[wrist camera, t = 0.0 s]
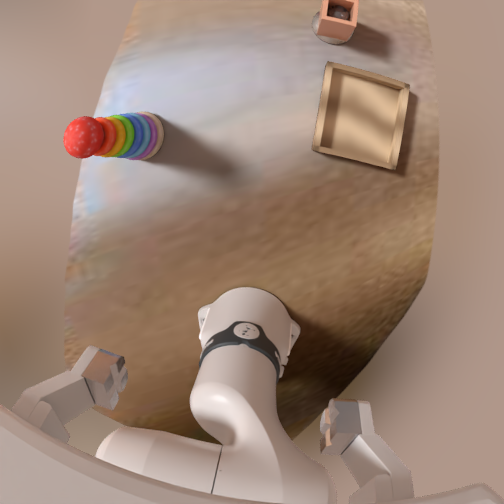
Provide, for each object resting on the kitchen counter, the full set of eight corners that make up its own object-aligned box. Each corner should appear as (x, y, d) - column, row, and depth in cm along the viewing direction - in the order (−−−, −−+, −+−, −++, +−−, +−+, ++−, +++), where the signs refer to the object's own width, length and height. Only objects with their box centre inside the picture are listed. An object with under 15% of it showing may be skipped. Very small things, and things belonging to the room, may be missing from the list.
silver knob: (350, 48, 37) (359, 37, 31) (309, 39, 37) (312, 26, 32) (354, 15, 35) (363, 1, 29) (314, 6, 35) (317, -9, 29)
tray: (389, 168, 43) (395, 170, 40) (311, 149, 44) (313, 150, 41) (402, 87, 38) (409, 84, 35) (325, 65, 38) (327, 61, 36)
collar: (346, 41, 36) (356, 26, 30) (316, 34, 36) (321, 18, 30) (349, 17, 34) (358, 0, 28) (320, 10, 35) (324, -8, 28)
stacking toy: (168, 113, 44) (105, 104, 26) (162, 161, 46) (98, 178, 29) (126, 111, 44) (52, 106, 26) (121, 157, 47) (48, 173, 29)
